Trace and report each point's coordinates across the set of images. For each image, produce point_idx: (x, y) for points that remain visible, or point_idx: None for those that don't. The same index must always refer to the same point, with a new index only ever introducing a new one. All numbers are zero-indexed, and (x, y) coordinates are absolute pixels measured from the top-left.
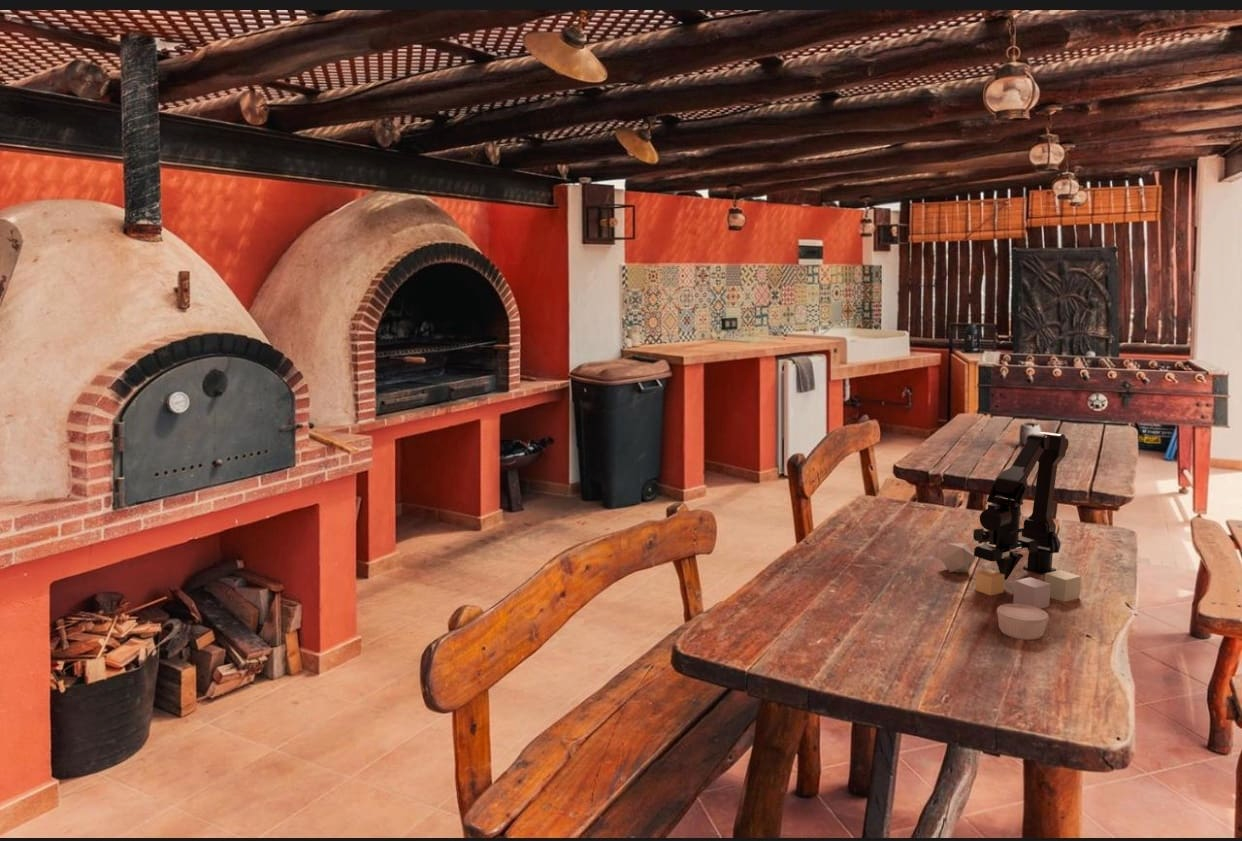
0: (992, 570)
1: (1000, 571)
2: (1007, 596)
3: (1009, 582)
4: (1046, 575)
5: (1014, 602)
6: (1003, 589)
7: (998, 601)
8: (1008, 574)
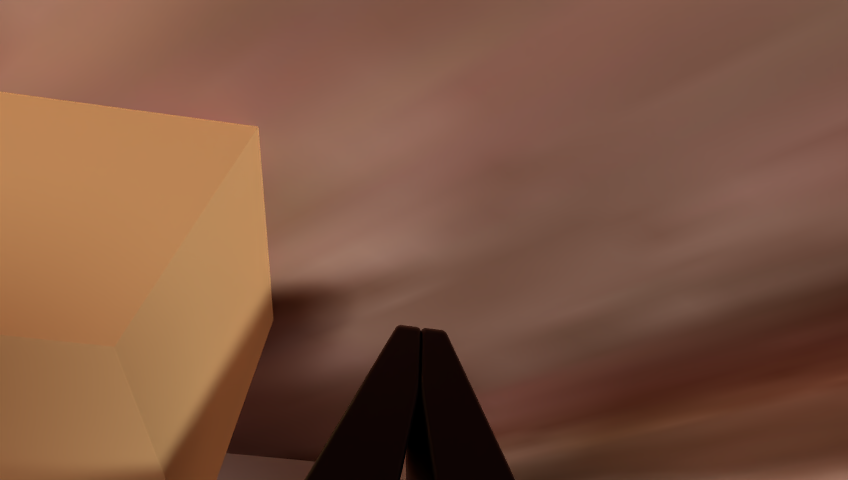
0: (139, 412)
1: (338, 436)
2: None
3: (682, 209)
4: None
5: None
6: (262, 344)
7: None
8: (407, 470)
